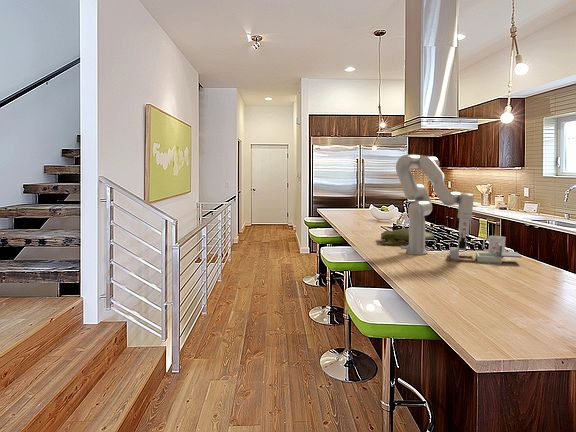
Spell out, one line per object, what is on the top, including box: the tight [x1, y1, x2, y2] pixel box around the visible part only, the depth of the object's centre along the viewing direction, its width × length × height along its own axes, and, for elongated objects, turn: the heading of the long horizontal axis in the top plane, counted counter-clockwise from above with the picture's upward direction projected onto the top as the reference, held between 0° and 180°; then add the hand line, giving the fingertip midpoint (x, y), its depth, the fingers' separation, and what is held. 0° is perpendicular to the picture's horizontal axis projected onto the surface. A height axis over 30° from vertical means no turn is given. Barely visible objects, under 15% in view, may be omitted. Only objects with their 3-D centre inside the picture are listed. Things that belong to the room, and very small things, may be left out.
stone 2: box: [457, 238, 468, 252], centre depth 275 cm, size 4×4×6 cm
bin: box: [475, 251, 503, 265], centre depth 272 cm, size 12×12×4 cm
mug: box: [482, 235, 507, 253], centre depth 287 cm, size 12×9×11 cm
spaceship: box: [380, 227, 435, 247], centre depth 332 cm, size 35×31×10 cm
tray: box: [446, 254, 476, 263], centre depth 276 cm, size 14×13×1 cm
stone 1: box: [449, 249, 460, 259], centre depth 274 cm, size 4×4×6 cm
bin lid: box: [494, 243, 522, 259], centre depth 268 cm, size 12×12×6 cm
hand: (461, 247), depth 275 cm, fingers closed on stone 2, 3 cm apart
